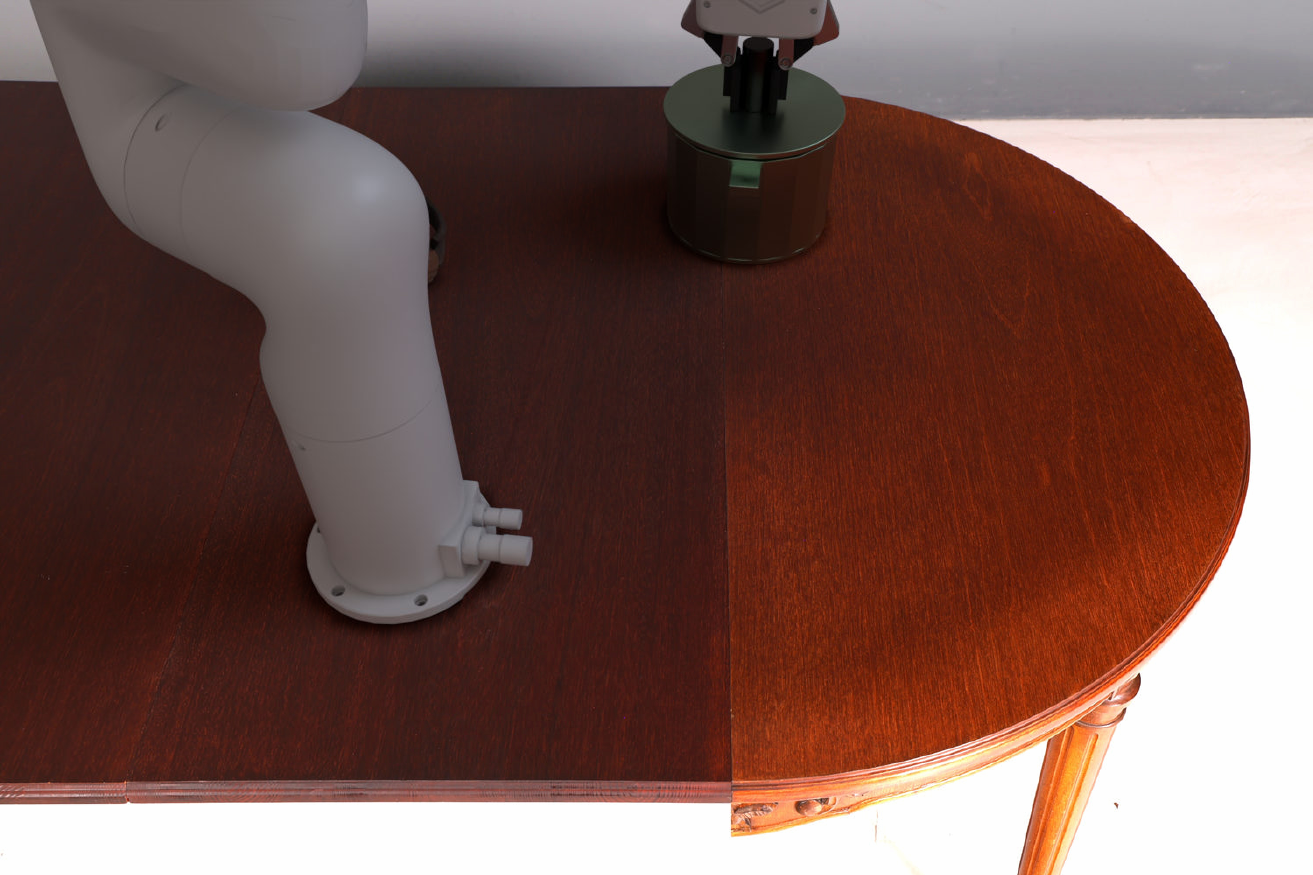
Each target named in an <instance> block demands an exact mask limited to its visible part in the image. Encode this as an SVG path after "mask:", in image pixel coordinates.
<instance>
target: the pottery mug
mask: <svg viewBox="0 0 1313 875" xmlns="http://www.w3.org/2000/svg"><path fill="white" fill-rule="evenodd" d="M424 197H425V201H426V204H427V209H428V216H429V225H430V226H431V227H432V229H433V230H434V233H435V234H433V235H432V236H431V237H430V238H429V255H428V285H429V284H430V283H432V282H433V281H434V279H435V278H436V276H437V275H438V269H439V268H441V267H442V266H443V262H444V259H445V254H446V241H445V237H446V235H447V229H448V228H447V226H448V225H447V223H446V220H445V219H444V215H443V214H442V212H441V211H440V210H439V208H438V207H437V205H436V204H435V203H434V202H432V200H431V199H429V198H428V197H426V195H424Z"/></svg>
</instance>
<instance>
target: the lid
mask: <svg viewBox="0 0 1313 875" xmlns="http://www.w3.org/2000/svg"><path fill="white" fill-rule="evenodd" d="M774 53H775V42H774V41H773V40H772V38H765V37H749V36H748V37H746V38H745V39H744V40H743V42H742V48H741V54H742V65H741V81H740V97H739V107H738V110H736V111H730V97H729V96H723V79H724V65H723V64H722V63H717V64H713V65H710V66H706V67H702V68H699V69H697V70H694V71H692V72H689V73H687V74H686V75H684V76H682V77H681V78H679V79H678V80H676V81H675V82H674V83H673V84H672V85H671V86H670V87H669V88H668V90H667V92H666V93H665V96H664V98H663V105H662V110H663V111H662V112H663V116H664V118H665V122H666V123H667V126H668V125H669V126H670V128H671V129H672V130H673V131H674V132H675V133H676V134H677V135H678V136H680V137H681V138H682V139H684V140H685V141H687V142H689V143H690V144H692V145H694V146H697V147H699V148H701V149H704V150H707V151H709V152H713V153H717V154H720V155H725V156H730V157H737V158H746V159H773V158H782V157H788V156H794V155H798V154H801V153H805V152H808V151H811V150H813V149H816V148H818V147H820V146H822V145H824V144H825V143H827V142H828V141H830V140H831V139H832V138H833V137H834V136H835V135H836V134H837V135H838V133H839V132H840V131H841V129H842V128H843V125H844V123H845V119H846V111H847V110H846V104H845V102H844V99H843V97H842V96H841V93H840V92H838V91H837V89H836V88H835V87H834V86H833V85H831V84H830V83H829V82H827V81H826V80H824V79H823V78H821V77H819V76H818V75H815V74H813V73H812V72H809V71H806V70H804V69H800V68H797V67H794V66H792V68H791V69H789V75H788V85H787V95H786V100H778V104H777V112H776V114H770V112H768V107H769V95H770V83H771V72H772V64H773V56H775V54H774Z"/></svg>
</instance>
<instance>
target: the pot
mask: <svg viewBox="0 0 1313 875" xmlns="http://www.w3.org/2000/svg"><path fill="white" fill-rule="evenodd" d="M837 140H838V133H837V134H836V135H835V136H834V137H833V138H832V139H831V140H830V141H828V142H827V143H825V144H824V145H822V146H820V147H818V148H816V149H813V150H811V151H808V152H805V153H801V154H798V155H794V156H788V157H782V158H773V159H746V158H737V157H730V156H725V155H720V154H717V153H713V152H709V151H707V150H704V149H701V148H699V147H697V146H694V145H692V144H690V143H689V142H687V141H685V140H684V139H682V138H681V137H680V136H678V135H677V134H676V133H675V132H674V131H673V130H672V129H671V128H670V126H669V125H668V124H667V142H666V143H667V144H666V145H667V156H666V158H667V159H666V161H667V162H666V164H667V166H666V216H667V218H668V219H667V220H668V224H669V227H670V230H671V231H672V233H673V235H674V236H675V237H676V238H677V240H678V241H680V242H681V243H682V244H683V245H684V246H685V247H687V248H689V249H690V251H693V252H695V253H696V254H699V255H701V256H704V257H706V258H708V259H712V260H715V261H719V262H724V263H728V264H734V265H736V264H737V265H747V266H748V265H749V266H750V265H751V266H752V265H766V264H774V263H777V262H782V261H785V260H788V259H789V260H790V259H791V258H794V257H796V256H799V255H801V254H802V253H804V252H805V251H807V250H809V249H810V248H811V247H812V246H814V244H815V243H816V242H817V241H818V240H819V238H820V237H821V235H822V233H823V231H824V229H825V226H826V219H827V211H828V204H829V196H830V190H831V183H832V175H833V168H834V161H835V153H836V147H837Z"/></svg>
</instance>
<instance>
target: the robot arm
mask: <svg viewBox="0 0 1313 875" xmlns="http://www.w3.org/2000/svg"><path fill="white" fill-rule="evenodd" d="M29 4H30V6H31V8H32V12H33V17H34V19H35V22H36V24H37V27H38V30H39V33H40V36H41V39H42V41H43V45H44V47H45V50H46V53H47V55H48V58H49V61H50V63H51V67H52V70H53V72H54V75H55V78H56V80H57V83H58V87H59V89H60V92H61V94H62V97H63V100H64V103H65V105H66V108H67V111H68V114H69V116H70V119H71V122H72V125H73V128H74V131H75V133H76V135H77V138H78V141H79V144H80V146H81V150H82V152H83V155H84V157H85V160H86V162H87V165H88V168H89V171H90V173H91V175H92V178H93V179H94V182H95V185H96V186H97V188H98V190H99V192H100V194H101V195H102V197H103V199H104V201H105V202H106V204H107V205H108V207H109V208H110V210H111V211H112V212H113V214H114V215H115V216H116V218H117V219H118V220H119V221H120V222H121V223H122V224H123V225H124V226H125V227H126V228H128V230H130V231H131V232H132V233H133V234H135V235H136V236H138V237H139V238H140V239H142V240H144V241H145V242H147V243H148V244H150V245H152V246H153V247H156V248H157V249H159V250H161V251H162V252H164V253H166V254H168V255H170V256H172V257H174V258H176V259H177V260H179V261H182V262H184V263H187V264H188V265H190V266H192V267H193V268H196V269H198V270H200V271H202V272H204V273H206V274H207V275H209V276H210V277H212V278H213V279H215V280H217V281H219V282H220V283H223V284H225V285H227V286H229V287H230V288H232V289H234V290H236V291H238V292H239V293H241V294H242V295H244V296H245V297H246V298H247V299H248V300H250V301H251V302H252V303H253V304H254V305H255V306H256V308H257V309H258V310H259V312H260V313H261V315H262V317H263V320H264V322H265V333H264V335H263V338H262V341H261V343H260V349H259V368H260V369H259V370H260V373H261V377H262V378H261V379H262V381H263V384H264V387H265V390H266V393H267V396H268V398H269V401H270V405H271V407H272V409H273V411H274V414H275V416H276V418H277V421H278V423H279V426H280V429H281V431H282V434H283V436H284V440H285V442H286V444H287V447H288V450H289V453H290V455H291V458H292V460H293V463H294V466H295V468H296V470H297V471H296V472H297V473H298V474H297V475H298V476H299V480H300V482H301V484H302V487H303V490H304V492H305V494H306V497H307V500H308V503H309V505H310V508H311V511H312V514H313V516H314V518H315V523H314V524H313V527H312V529H311V532H310V534H309V536H308V540H307V546H306V552H305V554H306V555H305V556H306V565H307V570H308V573H309V575H310V578H311V581H312V583H313V585H314V587H315V589H316V591H317V593H318V594H319V595H320V596H321V598H322V599H324V601H325V602H326V603H327V604H328V605H329V606H331V607H332V608H333V609H335V610H336V611H338V612H339V613H340V614H343V615H345V616H347V617H349V618H352V619H355V620H356V621H361V622H366V623H372V624H381V625H386V624H387V625H397V624H403V623H404V624H405V623H412V622H415V621H419V620H423V619H426V618H429V617H433V616H435V615H437V614H438V613H441V612H443V611H445V610H447V609H449V608H451V607H452V606H454V605H455V604H457V603H458V602H460V601H462V600H463V599H464V597H465V595H466V593H468V592H469V591H470V590H471V589H472V588H474V587H475V585H476V584H477V583H478V582H479V581H480V579H481V578H482V577H483V575H484V574H485V573H486V571H487V569H488V567H489V566H490V564H491V562H496V563H500V564H502V565H510V566H511V565H512V566H519V567H520V566H521V567H529V565H530V563H531V561H532V556H533V555H532V554H533V548H534V547H533V546H534V544H533V542H534V541H533V538H532V536H524V535H515V534H509V533H508V534H507V533H506V534H497V528H499V529H504V530H514V531H520V529H521V528H522V523H523V510H522V509H519V508H508V507H501V508H499V507H491V505H490V504H489V502H488V501H487V500H486V498H485V496H484V495H483V494H482V493H481V490H480V485H479V482H478V481H476V480H468V479H464V478H463V473H462V470H461V464H460V459H459V454H458V449H457V444H456V440H455V435H454V434H455V433H454V429H453V425H452V420H451V416H450V410H449V406H448V401H447V397H446V396H447V395H446V391H445V386H444V381H443V377H442V372H441V367H440V363H439V358H438V355H437V350H436V344H435V338H434V333H433V327H432V322H431V314H430V306H429V304H430V303H429V289H428V288H429V287H428V285H429V284H428V255H429V248H430V223H429V216H428V209H427V204H426V201H425V197H426V196H425V195H424V192H423V190H422V188H421V186H420V184H419V182H418V181H417V179H416V178H415V176H414V174H412V172H411V171H410V169H409V168H408V167H407V166H406V165H405V164H404V163H403V162H402V161H401V160H400V159H399V158H398V157H397V156H396V155H394V154H393V153H391V152H390V151H389V150H388V149H386V148H385V147H384V146H383V145H381V144H379V143H378V142H376V141H374V140H373V139H371V138H369V137H367V136H366V135H364V134H362V133H360V132H359V131H356V130H354V129H352V128H350V127H348V126H345V125H344V124H341V123H338V122H335V121H333V120H330V119H328V118H326V117H323V116H320V115H318V114H315V113H313V112H310V111H312V110H316V109H319V108H322V107H325V106H328V105H330V104H332V103H334V102H336V101H337V100H339V99H340V98H342V97H343V96H344V95H345V94H346V93H347V92H348V91H349V89H350V88H351V87H352V86H353V85H354V83H355V81H357V78H358V77H359V75H360V73H361V71H362V68H363V65H364V62H365V58H366V55H367V51H368V32H369V10H368V0H29ZM680 27H681V29H682V30H684V31H685V32H687V33H689V34H691V35H693V36H695V37H696V38H698V39H702V40H703V41H704V43H705V44H706V45H707V46H708V47H709V48H710V49H711V50H712V51H713V53H715V55H716V56H717V57H719V59H720V64H723V65H724V79H723V96H729V97H730V111H736V110H738V107H739V97H740V81H741V65H742V48H741V47H740V46H739V39H740V37H748V38H749V37H765V38H769V39H778V49H777V50H775V55H773V64H772V72H771V83H770V95H769V107H768V112H770V114H776V112H777V104H778V100H786V95H787V85H788V75H789V69H791V68H792V67H794V64H795V63H796V62H797V61H798V60H800V59H801V58H802V57H803V56H805V55H806V54H807V53H808V52H810V51H811V50H812V49H813V48H814V47H816V46H818V47H819V46H821V45H824V44H826V43H828V42H831V41H834V40H836V39H838V38H839V36H840V23H839V21H838V18H837V15H836V11H835V9H834V7H833V3H832V1H831V0H690V1H689V3H688V4H687V7H686V9H685V11H684V12H683V14H682V17H681V21H680ZM424 196H425V197H424Z"/></svg>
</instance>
